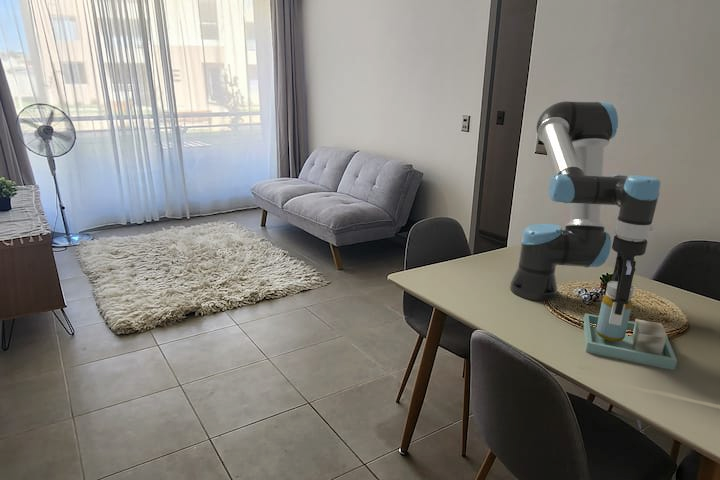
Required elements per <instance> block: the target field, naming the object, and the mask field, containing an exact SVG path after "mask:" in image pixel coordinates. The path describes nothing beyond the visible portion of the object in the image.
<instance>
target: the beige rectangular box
mask: <svg viewBox="0 0 720 480" xmlns="http://www.w3.org/2000/svg"><path fill="white" fill-rule="evenodd" d="M634 322H635V326H634V330H633V334H632V339H631V340H632V343H633V347H634V350H635V351H640V352H645V353H650V354H655V355H660V356H661V355H662V352H663V348H664V344H665V340H666V338H668V334H667V332H666V331H665V328H664V326H663V323H659V322H655V321H648V320H644V319H638V318H635V320H634Z"/></svg>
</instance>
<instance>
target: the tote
mask: <svg viewBox="0 0 720 480" xmlns="http://www.w3.org/2000/svg"><path fill="white" fill-rule="evenodd" d="M598 318H599V315H597V314H591V313H586V312H585V313H584V316H583V320H582V321H584V324H583V333H584V334H583V335H584V343H585V344H584V347H585V353H590V354H594V355H598V356H602V357H603V356H604V357H609V358H613V359H618V360H623V361H627V362H633V363H638V364H641V365H647V366H652V367H656V368H661V369H665V370H670V371H675V370H676V366H677V362H678V359H677V357H676V355H675V352H674V350H673V348H672V345H671V342H670V340H669V338H668V337H667V338H666V340H665V344H664V348H663V352H662V355H661V356H660V355H655V354H650V353H645V352H640V351H635V350H634V347H633V343H632V340H631V339H632V336H628V335H625V338H624V339H622V340H621V341H609V340H606V339H604V338H602V337H600V336H599V335H598V333H597V332H596V327H593V326H590V323H592V324H596V325H597V323H598ZM634 326H635V321H630V320H629V321H628V325H627V330H631V331H633V330H634Z"/></svg>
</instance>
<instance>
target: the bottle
mask: <svg viewBox="0 0 720 480" xmlns="http://www.w3.org/2000/svg"><path fill="white" fill-rule="evenodd" d="M617 284H618V281H611V280H610V281H608V282H607V284H606V291H605V294H604V296H603V297H602V299H601V305H600V310H599V314H598V316H599V318H598V323H597V328H596V332H597V333H598V335H599V336H600V337H602V338H604V339H606V340H609V341H621V340H622V339H624V338H625V334H626V330H627V325H628V321H630V315H631V311H632V307H633V302H632V299H633V295H634V291H635V288H634V286H633V285H631V290H630V295H629V300H628V304H626V305H625V309H624V314H623V318H622V322H621V326H620V325H614V324H609V320H610V315H611V311H612V306H613V302H612V299H614V300H615V297H616V291H617Z"/></svg>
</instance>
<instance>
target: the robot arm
mask: <svg viewBox="0 0 720 480" xmlns="http://www.w3.org/2000/svg"><path fill="white" fill-rule="evenodd" d="M536 123H537V124H536V133H537V136H538V140H540V142H542V143H543V145H544V148H545V152H546V155H547V158H548V161H549V163H550V166H551V171H552V174H553V176H552V177H551V179H550V181H549V188H548V191H549V192H548V193H549V194H548V195H549V198H550V200H551V201H552V202H556V203H564V204H571V211H570V220H569V222H567V223H566V224H565V229H564V230H563V229H562V226H560V225H558V224H554V223H543V222H542V223H535V224H531V225H529V226H527V227H525V229H524V231H523V233H522V237H521V239H520V240H521V247H520V252H519V260H518V266H517V269H516V271H515V273H514V275H513V277H512V278H511V280H510V286H509V289H510V290H511V292H512V293H513V294H515V295H516V296H518V297H521V298H523V299H528V300H532V301H542V302H543V301H550V300H553V298H554V299H556V297H557V295H558V285H557V280H556V274H555V273H556V268H557V266H565V267H566V266H568V267H569V266H570V267H583V268H599V267H602V266H603V265H604V264H606V261H607V260H608V258H609V255H610V252H611V249H612V250H613V251H614V252H615V253H616V254H617V255H616V259H615V260H616V261H615V264H614V269H613V272H612V273H613V274H612V276H611V277H612V278H611V280H610V281H618V284H617V291H616V297H615V300H614V299H612V302H613V306H612V311H611V315H610V320H609V324H614V325H620V326H621V322H622V318H623V314H624V309H625V305H626V304H628V300H629V295H630V290H631V285H632V284H633V278H634V275H635V272H636V264H637V261H635V257H641V256H643V255H645V254H646V250H647V247H648V240H647V239H649V238H650V237H649V236H650V231H653V230H654V226H652V223H653V220H654V216H655V211H656V209H657V204H658V200H659V197H660V190H661V189H660V188H661V181H660V179H659V178H657V177H654V176H653V177H652V176H650V175H642V174H641V175H639V174H637V175H635V174H633V175H632V174H631V175H629V176H627V175H621V174H614V175H610V176H603V167H604V152H605V150H604V149H605V147H607V146H608V145H609V144H610V140H612V139H613V138H615V136H616V134H617V132H618V131H617V129H618V127H619V116H618V111H617V109H616V107H615V106H614V105H613V104H612V103H609V102H601V101H566V100H564V101H560V102H559V101H558V102H556V103H554V104H552V105H550V106H549V107H547V108H546V109H545V110H543V112H542V113H541V114H540V116H539V118H538V120H537V121H536ZM601 205H604V206H605V205H606V206H616V207H619V212H618V216H617V219H616V226H615V230H614V234H615V235H614V237H613V240H612V239H611V238H612V237H611V235H610V234H609V232H607V231H605V225H604V224H603V223H602V222H601V221H600V220H601ZM632 286H633V285H632Z"/></svg>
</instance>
